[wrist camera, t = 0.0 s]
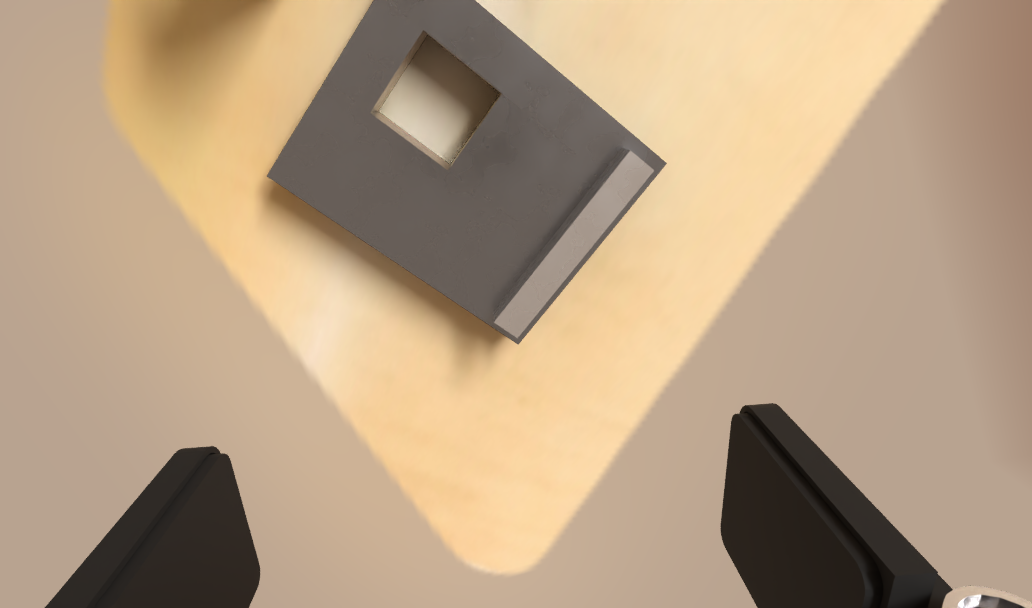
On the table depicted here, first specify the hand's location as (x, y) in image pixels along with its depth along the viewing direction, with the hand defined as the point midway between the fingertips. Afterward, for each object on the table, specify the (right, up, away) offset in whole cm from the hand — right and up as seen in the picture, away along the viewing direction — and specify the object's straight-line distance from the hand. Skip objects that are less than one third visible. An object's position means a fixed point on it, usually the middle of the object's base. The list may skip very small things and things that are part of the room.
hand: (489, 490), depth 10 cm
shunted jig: (-3, +13, +28) cm, 31 cm away
